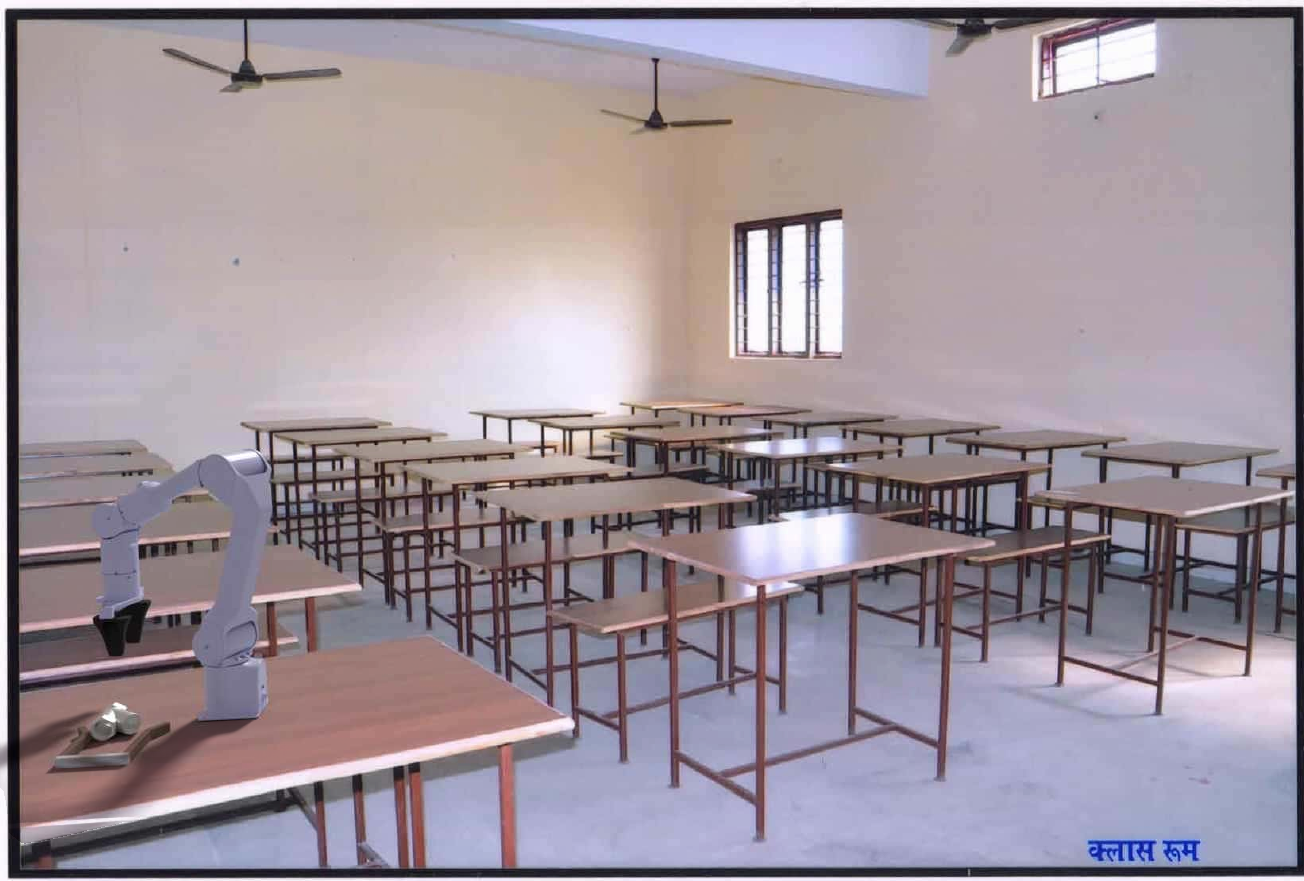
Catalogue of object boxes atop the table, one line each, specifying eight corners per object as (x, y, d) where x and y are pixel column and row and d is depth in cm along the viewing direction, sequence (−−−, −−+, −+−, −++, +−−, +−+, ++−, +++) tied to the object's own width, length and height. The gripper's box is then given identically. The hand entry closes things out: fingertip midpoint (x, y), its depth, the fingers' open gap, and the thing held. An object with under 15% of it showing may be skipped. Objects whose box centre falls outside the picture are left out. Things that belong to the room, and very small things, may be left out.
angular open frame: (171, 730, 163) (171, 721, 163) (141, 764, 150) (140, 754, 150) (79, 735, 161) (79, 725, 161) (40, 769, 148) (40, 759, 148)
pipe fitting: (137, 714, 160) (89, 718, 158) (138, 739, 160) (90, 743, 159) (149, 699, 168) (104, 702, 166) (150, 722, 168) (105, 726, 166)
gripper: (112, 563, 181) (116, 638, 182) (77, 582, 166) (82, 663, 168) (154, 561, 182) (158, 636, 183) (123, 580, 167) (127, 661, 169)
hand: (124, 649), depth 175 cm, fingers open, 7 cm apart
